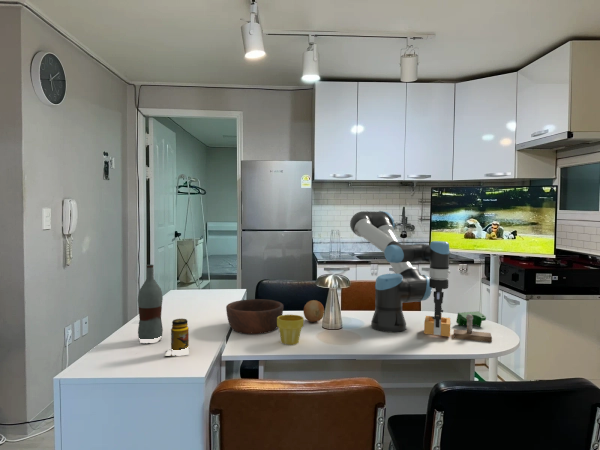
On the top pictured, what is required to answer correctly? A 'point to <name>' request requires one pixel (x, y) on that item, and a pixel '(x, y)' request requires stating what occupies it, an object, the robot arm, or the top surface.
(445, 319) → the orange hollow square frame
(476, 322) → the clamp
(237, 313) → the wooden bowl
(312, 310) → the brown oval piece
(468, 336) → the brown block with peg
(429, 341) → the top surface
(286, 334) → the plant pot
